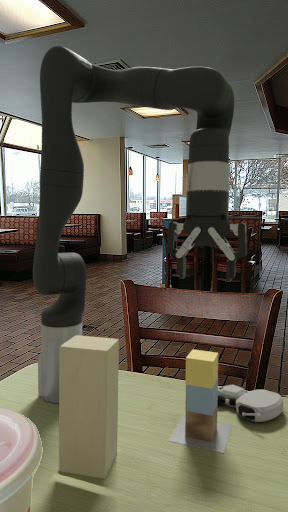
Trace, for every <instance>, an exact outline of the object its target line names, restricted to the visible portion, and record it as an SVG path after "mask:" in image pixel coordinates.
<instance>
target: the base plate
mask: <svg viewBox="0 0 288 512" xmlns="http://www.w3.org/2000/svg"><path fill="white" fill-rule="evenodd" d="M185 419H186V414H182V416H181V417H180V419H179V421H178V422H177V425H176V426H175V428H174V430H173V432H172V433H171V435H170V437H169V438H168V440H167V442H170V443H176V444H179V445H184V446H188V447H194V448H198V449H202V450H207V451H210V452H215V453H220V454H224V453H225V450H226V447H227V443H228V440H229V437H230V433H231V430H232V427H233V425H232V424H231V423H224V422H220V421H217V430H216V432H215V435H214V438H213V441H212V442H208V441H204V440H199V439H194V438H190V437H185Z"/></svg>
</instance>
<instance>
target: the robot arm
mask: <svg viewBox="0 0 288 512" xmlns="http://www.w3.org/2000/svg"><path fill="white" fill-rule="evenodd" d="M40 64H41V66H40V70H39V90H40V91H39V92H40V108H41V151H40V152H41V156H40V157H41V158H40V166H39V167H40V170H39V171H40V172H39V207H38V221H37V222H38V223H37V232H36V238H35V239H36V241H35V249H34V254H33V255H34V256H33V262H32V264H33V266H32V280H33V281H32V282H33V284H34V285H33V286H34V288H35V290H36V292H37V293H38V294H39V295H41V296H51V295H52V296H53V295H59V297H57V299H56V300H55V301H54V302H53V303H52V304H50V305H49V306H48V307H46V308H44V309H43V310H42V312H41V314H40V316H41V317H40V327H41V328H40V329H41V354H39V355H38V357H37V374H38V375H37V378H38V379H37V380H38V381H37V383H38V384H37V385H38V387H37V388H38V389H37V390H38V391H37V393H38V394H37V396H38V397H41V398H42V399H43V400H45V401H46V402H48V403H52V404H53V403H55V404H59V350H60V346H61V345H62V344H64V343H65V342H67V341H68V340H70V339H71V338H72V337H74V336H76V335H80V336H83V314H84V312H85V307H86V293H87V292H86V291H87V289H86V287H87V268H86V263H85V261H84V259H83V257H82V256H81V255H80V254H79V253H76V252H59V246H60V241H61V236H62V234H63V231H64V229H65V228H66V227H65V226H66V225H67V224H68V222H69V220H70V218H71V217H72V216H73V214H74V212H75V211H76V209H77V207H78V205H79V204H80V202H81V199H82V197H83V191H84V176H85V175H84V173H85V166H84V165H85V164H84V157H83V155H82V152H81V148H80V146H79V145H80V144H79V142H78V140H77V137H76V133H75V130H74V126H73V117H72V113H73V104H86V103H89V104H90V103H117V104H118V103H120V104H126V105H127V104H128V105H130V106H131V105H132V106H137V107H143V108H147V109H148V108H149V109H155V110H163V111H172V110H176V109H177V108H179V109H181V108H182V109H188V110H191V111H195V112H196V114H197V116H196V117H197V118H196V120H197V121H196V128H195V129H196V130H194V131H193V132H192V133H191V135H190V137H189V141H188V167H187V168H188V169H187V176H186V199H185V201H186V203H185V205H186V206H185V209H186V210H185V221H184V222H183V223H181V222H180V223H178V222H177V221H171V222H168V228H167V243H166V254H168V255H172V256H173V257H175V259H176V265H175V266H176V268H175V269H176V272H175V273H176V275H177V276H178V277H179V279H186V276H187V258H186V256H187V254H188V253H189V251H190V250H191V249H192V248H193V247H194V246H196V247H204V246H206V247H211V248H212V247H213V248H214V247H217V246H218V248H219V249H220V250H221V251H222V252H223V254H224V255H225V256H226V258H227V260H226V267H225V268H226V269H225V282H227V283H231V281H232V280H233V279H235V277H236V274H237V273H236V269H237V268H236V267H237V261H238V259H241V258H242V259H243V258H245V257H246V256H247V254H248V239H247V237H248V235H247V234H248V233H247V224H246V223H244V222H240V223H230V220H229V208H230V207H229V206H230V205H229V204H230V202H229V201H230V188H231V183H230V168H229V161H230V159H229V158H230V157H229V156H230V155H229V154H230V140H229V139H230V138H229V137H230V133H231V130H232V125H233V120H234V113H235V112H234V111H235V95H234V94H235V93H234V90H233V87H232V86H231V84H230V83H229V82H228V80H227V79H226V78H225V76H224V75H223V74H222V73H221V71H219V70H217V69H214V68H211V67H206V66H188V67H179V68H175V69H171V68H165V67H156V66H155V67H153V66H135V67H129V68H125V69H119V70H118V69H117V70H116V69H115V70H114V69H109V68H106V67H105V68H104V67H102V66H99V65H95V64H94V63H92V62H89V61H88V60H87V59H85V58H84V57H82V56H81V55H79V54H78V53H75V52H74V51H73V50H71V49H70V48H67V47H64V46H62V45H55V46H51V47H50V48H49V49H48V50H47V51H46V53H45V54H44V56H43V58H42V61H41V63H40ZM182 230H183V231H184V232H185V234H186V235H187V238H186V239H185V240H184V241H183V243H182V244H181V246H180V247H179V249H178V248H177V247H178V236H179V234H181V233H182ZM231 231H232V232H233V234H234V235H235V236H237V247H238V248H237V249H238V251H234V249H233V248H232V246H231V245H230V243H229V241H228V240H227V239H226V236H227V235H228V234H229V232H231Z"/></svg>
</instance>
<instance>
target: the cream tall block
mask: <svg viewBox="0 0 288 512" xmlns="http://www.w3.org/2000/svg"><path fill="white" fill-rule="evenodd" d="M119 350H120V340H119V339H118V338H112V337H111V338H109V337H99V336H88V335H82V336H80V335H76V336H74V337H72V338H71V339H70V340H68V341H67V342H65V343H64V344H62V345H61V346H60V350H59V403H58V405H59V406H58V408H59V409H58V471H59V472H63V473H68V474H74V475H78V476H79V475H80V476H86V477H92V478H96V479H106V477H107V475H108V474H109V472H110V470H111V467H112V465H113V463H114V461H115V459H116V457H117V455H118V429H119V428H118V426H119V425H118V423H119V420H118V419H119V418H118V417H119V369H120V368H119V365H120V364H119V363H120V361H119V360H120V359H119V358H120V356H119V355H120V351H119ZM59 475H61V476H65V477H67V475H66V474H61V473H59Z"/></svg>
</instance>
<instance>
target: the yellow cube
mask: <svg viewBox="0 0 288 512" xmlns="http://www.w3.org/2000/svg"><path fill="white" fill-rule="evenodd" d="M218 373H219V352H215V351H214V352H213V351H208V350H207V351H206V350H201V349H200V350H199V349H192V350H191V351H190V352H189V353H188V355H187V356H186V357H185V381H184V382H185V385H186V384H187V385H192V386H198V387H204V388H210V389H213V387H214V385H215V383H216V381H217V379H218V380H219V377H218V376H219V374H218Z"/></svg>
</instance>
